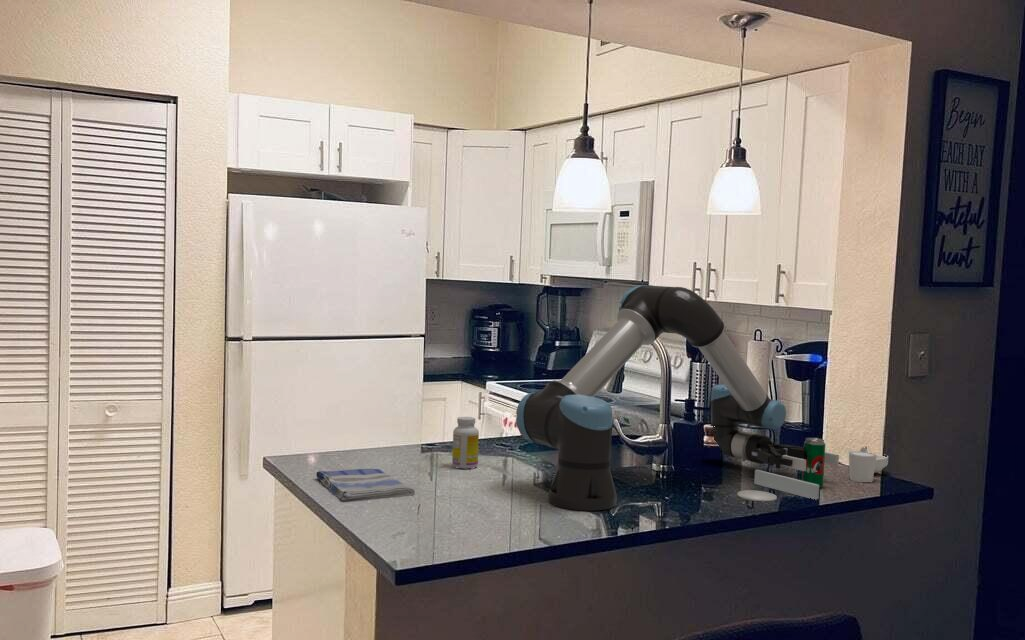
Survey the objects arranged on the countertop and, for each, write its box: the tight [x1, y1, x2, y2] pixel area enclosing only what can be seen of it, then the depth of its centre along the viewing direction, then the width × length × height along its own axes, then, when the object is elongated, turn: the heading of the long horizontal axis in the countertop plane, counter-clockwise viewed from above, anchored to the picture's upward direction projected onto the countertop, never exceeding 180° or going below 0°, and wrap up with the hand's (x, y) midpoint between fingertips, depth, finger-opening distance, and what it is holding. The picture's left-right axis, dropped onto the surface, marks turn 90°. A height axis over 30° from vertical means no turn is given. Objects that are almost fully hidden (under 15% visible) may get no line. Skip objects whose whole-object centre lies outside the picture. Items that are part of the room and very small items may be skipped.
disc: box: [737, 489, 778, 503], centre depth 208 cm, size 9×9×1 cm
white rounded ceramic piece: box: [847, 446, 889, 474], centre depth 240 cm, size 10×12×7 cm
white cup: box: [848, 451, 877, 483], centre depth 230 cm, size 7×7×7 cm
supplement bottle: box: [451, 416, 480, 469], centre depth 228 cm, size 7×7×13 cm
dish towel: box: [315, 468, 416, 502], centre depth 204 cm, size 17×24×3 cm
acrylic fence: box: [753, 469, 820, 501], centre depth 214 cm, size 18×1×4 cm, turn 36°
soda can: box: [801, 437, 826, 489], centre depth 220 cm, size 5×5×12 cm
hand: (821, 462), depth 219 cm, fingers open, 13 cm apart
